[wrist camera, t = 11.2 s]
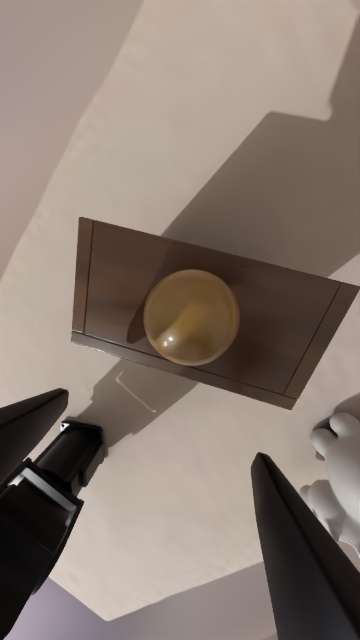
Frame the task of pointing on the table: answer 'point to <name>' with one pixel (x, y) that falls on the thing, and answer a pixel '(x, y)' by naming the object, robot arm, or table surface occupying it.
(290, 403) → the shelf
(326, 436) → the toy rhinoceros
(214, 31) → the table surface
